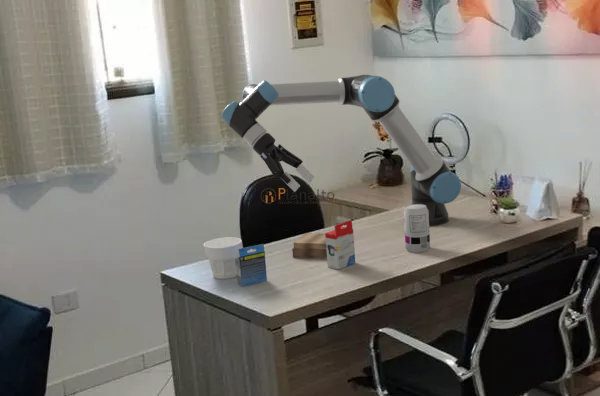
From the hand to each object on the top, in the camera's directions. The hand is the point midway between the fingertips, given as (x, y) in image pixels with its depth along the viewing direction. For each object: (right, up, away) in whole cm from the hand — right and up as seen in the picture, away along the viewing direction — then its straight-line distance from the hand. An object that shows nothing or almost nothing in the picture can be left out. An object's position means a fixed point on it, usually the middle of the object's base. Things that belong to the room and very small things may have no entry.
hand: (304, 184), depth 267 cm
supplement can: (+38, -22, +5) cm, 44 cm away
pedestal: (+4, -23, +12) cm, 26 cm away
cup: (-26, -30, -5) cm, 40 cm away
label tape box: (-17, -31, -14) cm, 38 cm away
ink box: (+12, -26, -4) cm, 29 cm away
